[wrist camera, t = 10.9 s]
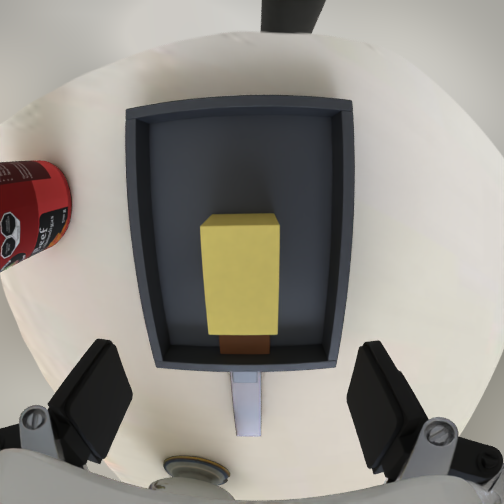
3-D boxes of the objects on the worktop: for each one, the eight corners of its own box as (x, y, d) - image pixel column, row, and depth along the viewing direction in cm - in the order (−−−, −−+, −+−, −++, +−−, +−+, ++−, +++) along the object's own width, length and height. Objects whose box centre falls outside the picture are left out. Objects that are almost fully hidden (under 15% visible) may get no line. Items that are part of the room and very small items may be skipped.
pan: (142, 116, 18) (125, 109, 15) (339, 109, 18) (352, 100, 15) (165, 347, 23) (155, 367, 20) (328, 347, 23) (335, 367, 20)
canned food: (38, 256, 21) (-40, 300, 10) (13, 185, 19) (-69, 203, 8) (87, 226, 20) (-9, 268, 10) (59, 144, 18) (-39, 143, 7)
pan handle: (230, 346, 23) (227, 366, 20) (260, 346, 23) (261, 367, 20) (237, 424, 26) (235, 443, 23) (260, 424, 26) (261, 443, 23)
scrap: (218, 304, 21) (216, 311, 20) (270, 304, 21) (270, 311, 20) (221, 346, 22) (220, 354, 21) (269, 346, 22) (269, 354, 21)
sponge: (211, 214, 19) (199, 226, 15) (274, 213, 19) (279, 224, 15) (216, 304, 21) (208, 334, 17) (273, 304, 21) (277, 334, 17)
